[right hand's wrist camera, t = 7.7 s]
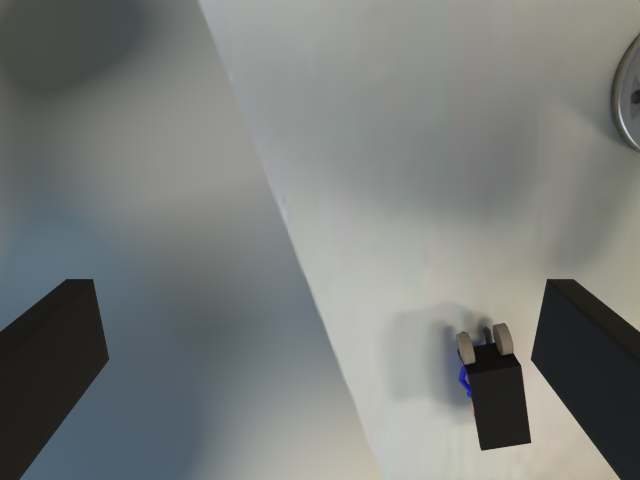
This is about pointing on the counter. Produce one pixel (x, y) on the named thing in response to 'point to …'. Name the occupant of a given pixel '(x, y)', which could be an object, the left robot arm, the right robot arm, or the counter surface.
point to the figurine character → (495, 389)
